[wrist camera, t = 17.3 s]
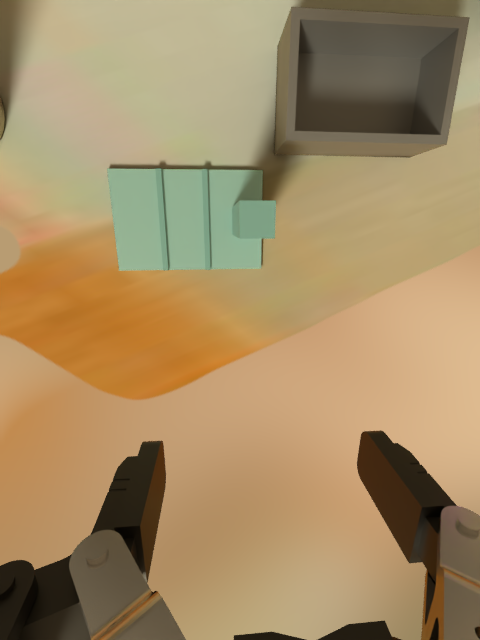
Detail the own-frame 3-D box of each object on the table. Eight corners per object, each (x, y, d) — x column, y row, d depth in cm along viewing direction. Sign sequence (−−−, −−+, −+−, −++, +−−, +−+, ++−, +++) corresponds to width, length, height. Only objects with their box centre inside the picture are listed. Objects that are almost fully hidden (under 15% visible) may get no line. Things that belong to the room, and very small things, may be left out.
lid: (121, 269, 37) (80, 288, 26) (109, 169, 34) (57, 142, 23) (260, 267, 39) (279, 284, 27) (261, 171, 35) (283, 145, 24)
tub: (274, 154, 35) (285, 140, 29) (277, 46, 32) (291, 6, 26) (409, 157, 36) (446, 144, 30) (425, 53, 33) (469, 17, 27)
